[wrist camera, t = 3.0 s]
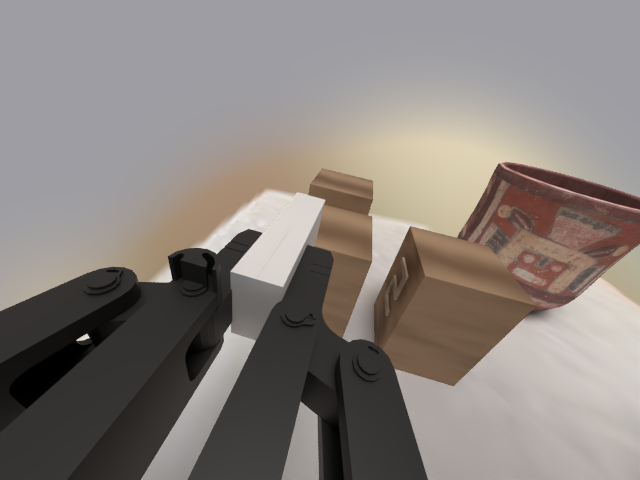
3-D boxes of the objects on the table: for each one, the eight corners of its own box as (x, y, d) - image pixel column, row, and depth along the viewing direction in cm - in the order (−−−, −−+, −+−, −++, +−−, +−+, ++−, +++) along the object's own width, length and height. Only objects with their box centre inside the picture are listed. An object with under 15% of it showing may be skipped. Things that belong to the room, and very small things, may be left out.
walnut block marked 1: (308, 233, 42) (320, 168, 35) (352, 244, 41) (372, 180, 35) (296, 258, 35) (308, 183, 29) (348, 272, 34) (372, 199, 28)
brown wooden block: (287, 279, 31) (298, 198, 24) (344, 295, 30) (372, 216, 24) (263, 329, 24) (270, 234, 18) (336, 351, 24) (372, 261, 17)
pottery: (426, 244, 46) (475, 153, 37) (509, 260, 47) (579, 175, 37) (466, 315, 32) (566, 195, 22) (586, 338, 32) (737, 231, 22)
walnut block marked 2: (372, 303, 30) (408, 225, 24) (434, 321, 29) (488, 246, 23) (372, 362, 23) (422, 275, 17) (453, 386, 23) (536, 305, 16)
